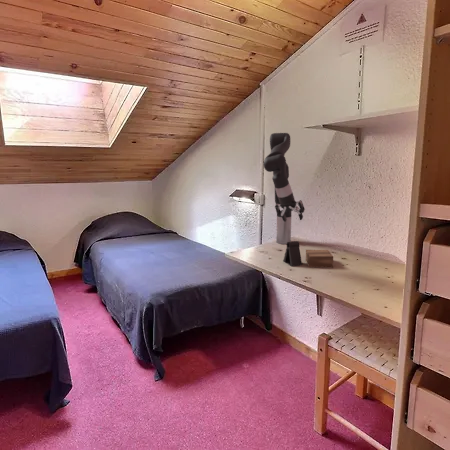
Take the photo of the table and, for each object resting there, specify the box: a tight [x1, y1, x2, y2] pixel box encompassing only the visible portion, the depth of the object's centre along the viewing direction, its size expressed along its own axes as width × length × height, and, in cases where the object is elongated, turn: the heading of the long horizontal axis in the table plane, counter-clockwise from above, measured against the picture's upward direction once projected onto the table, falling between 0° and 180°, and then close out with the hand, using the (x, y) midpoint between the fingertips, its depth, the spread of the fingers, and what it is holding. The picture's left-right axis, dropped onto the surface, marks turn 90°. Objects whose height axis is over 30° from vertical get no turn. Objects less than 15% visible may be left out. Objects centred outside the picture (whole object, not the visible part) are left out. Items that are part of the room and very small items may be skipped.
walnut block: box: [305, 249, 334, 268], centre depth 189 cm, size 12×12×6 cm
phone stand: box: [282, 240, 303, 267], centre depth 188 cm, size 9×6×12 cm, turn 21°
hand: (293, 220), depth 184 cm, fingers open, 8 cm apart
